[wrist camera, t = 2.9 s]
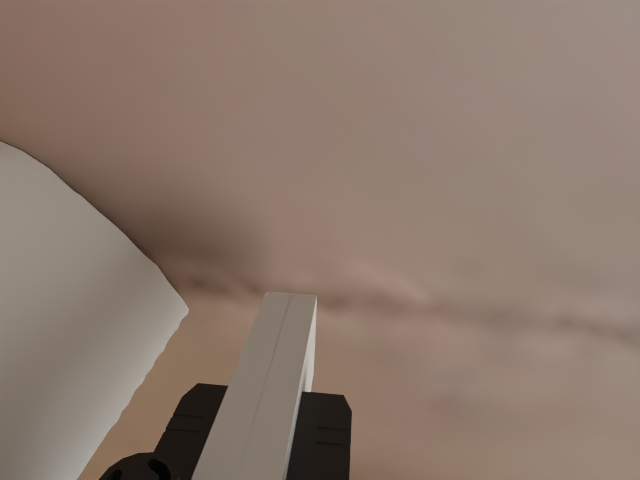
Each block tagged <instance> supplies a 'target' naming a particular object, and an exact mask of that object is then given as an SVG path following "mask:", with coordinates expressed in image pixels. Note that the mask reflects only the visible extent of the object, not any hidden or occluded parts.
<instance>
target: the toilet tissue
mask: <svg viewBox="0 0 640 480" xmlns="http://www.w3.org/2000/svg"><path fill="white" fill-rule="evenodd" d="M188 311H189V309H188V308H187V306H186V304H185V303H184V301H183V299H182V298H181V297H180V295H179V294H178V293H177V292H176V291H175V289H174V288H173V287H172V286H171V285H170V283H169V282H168V281H167V279H166V278H165V276H164V275H163V274H162V272H161V271H160V269H159V268H158V266H157V265H156V264H155V263H153V262H152V261H151V260H150V259H149V258H147V257H146V256H145V255H144V254H143V253H142V252H141V251H140V250H139V249H138V248H137V247H136V246H135V245H134V244H133V243H132V242H131V240H130V239H129V238H128V237H127V236H126V235H125V234H124V233H123V232H122V231H120V230H119V229H118V228H117V227H116V226H115V225H114V224H113V223H112V222H110V221H109V220H108V219H107V218H106V217H105V216H103V215H102V214H101V213H100V212H99V211H98V210H96V209H95V208H94V207H93V206H92V205H91V204H90V203H89V202H87V201H86V200H85V199H84V198H83V197H82V196H81V195H79V194H78V193H76V192H75V191H73V190H72V189H71V188H70V187H69V186H68V185H67V184H66V183H65V182H63V181H62V180H61V179H60V178H59V177H58V176H57V175H56V174H55V173H53V172H52V171H51V170H50V169H49V168H48V167H46V166H45V165H43V164H41V163H40V162H38V161H37V160H35V159H34V158H32V157H31V156H29V155H28V154H26V153H25V152H23V151H21V150H19V149H17V148H15V147H12V146H10V145H8V144H6V143H3V142H1V141H0V480H77V478H78V477H79V475H80V474H81V472H82V471H83V469H84V468H85V466H86V465H87V463H88V462H89V460H90V459H91V457H92V456H93V454H94V453H95V451H96V450H97V448H98V447H99V445H100V443H101V442H102V440H103V439H104V437H105V436H106V434H107V433H108V431H109V430H110V428H111V427H112V426H113V425H114V424H115V423H116V422H117V421H118V420H119V417H120V415H121V412H122V410H123V409H124V408H125V407H126V406H127V405H128V404H129V403H130V400H131V397H132V395H133V393H134V392H135V390H136V389H137V388H138V387H139V386H140V385H141V384H142V383H143V382H144V379H145V376H146V374H147V373H148V372H149V371H150V370H151V369H152V368H153V365H154V362H155V360H156V359H157V357H158V355H159V354H160V353H161V352H163V351H164V349H165V346H166V343H167V342H168V340H169V339H170V337H171V336H172V334H173V333H174V332H175V331H176V330H177V329H178V328H179V324H180V322H181V321H182V319H183V318H184V317H185V316H186V315H187V314H188Z"/></svg>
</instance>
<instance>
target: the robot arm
mask: <svg viewBox="0 0 640 480" xmlns="http://www.w3.org/2000/svg"><path fill="white" fill-rule="evenodd" d="M316 304H317V295H305V294H292V293H279V292H266V293H265V296H264V298H263V301H262V303H261V306H260V308H259V311H258V313H257V316H256V318H255V321H254V323H253V326H252V328H251V331H250V333H249V336H248V338H247V341H246V343H245V346H244V348H243V351H242V353H241V356H240V358H239V361H238V363H237V366H236V368H235V371H234V373H233V376H232V378H231V381H230V383H229V386H223V385H212V384H201V383H198V384H196V385H195V386H194V387H193V388H192V389H191V390H190V391H188V392H187V393H186V394H185V395H184V396H183V397H182V398H181V400H180V402H179V404H178V406H177V408H176V410H175V412H174V414H173V418H172V417H171V419H170V421H169V423H168V425H167V427H166V431H165V432H164V433H163V435H162V437H161V439H160V441H159V443H158V445H157V446H156V448H155V450H154V452H151V453H138V454H135V455H132V456H129V457H126V458H123V459H121V460H120V461H118V462H117V463H115V464H114V465H112V466H111V467H109V468H108V469H107V471H106V472H105V473H104V474H103V475H102V476H101V478H100V479H99V480H349V469H350V444H351V418H352V411H351V409H350V407H349V405H348V403H347V401H346V399H345V397H344V395H337V394H326V393H315V392H311V386H312V379H313V373H314V353H315V328H316Z"/></svg>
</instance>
